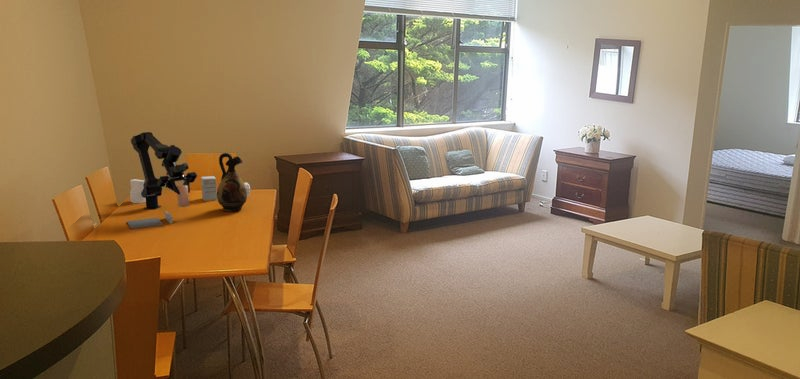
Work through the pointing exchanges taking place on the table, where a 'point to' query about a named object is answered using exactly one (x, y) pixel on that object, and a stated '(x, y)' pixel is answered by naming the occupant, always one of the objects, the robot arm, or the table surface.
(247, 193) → the penguin figurine
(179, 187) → the pale pink tall block
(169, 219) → the low divider
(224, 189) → the ceramic jug
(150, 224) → the mat
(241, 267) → the table surface
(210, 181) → the supplement box
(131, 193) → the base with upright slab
